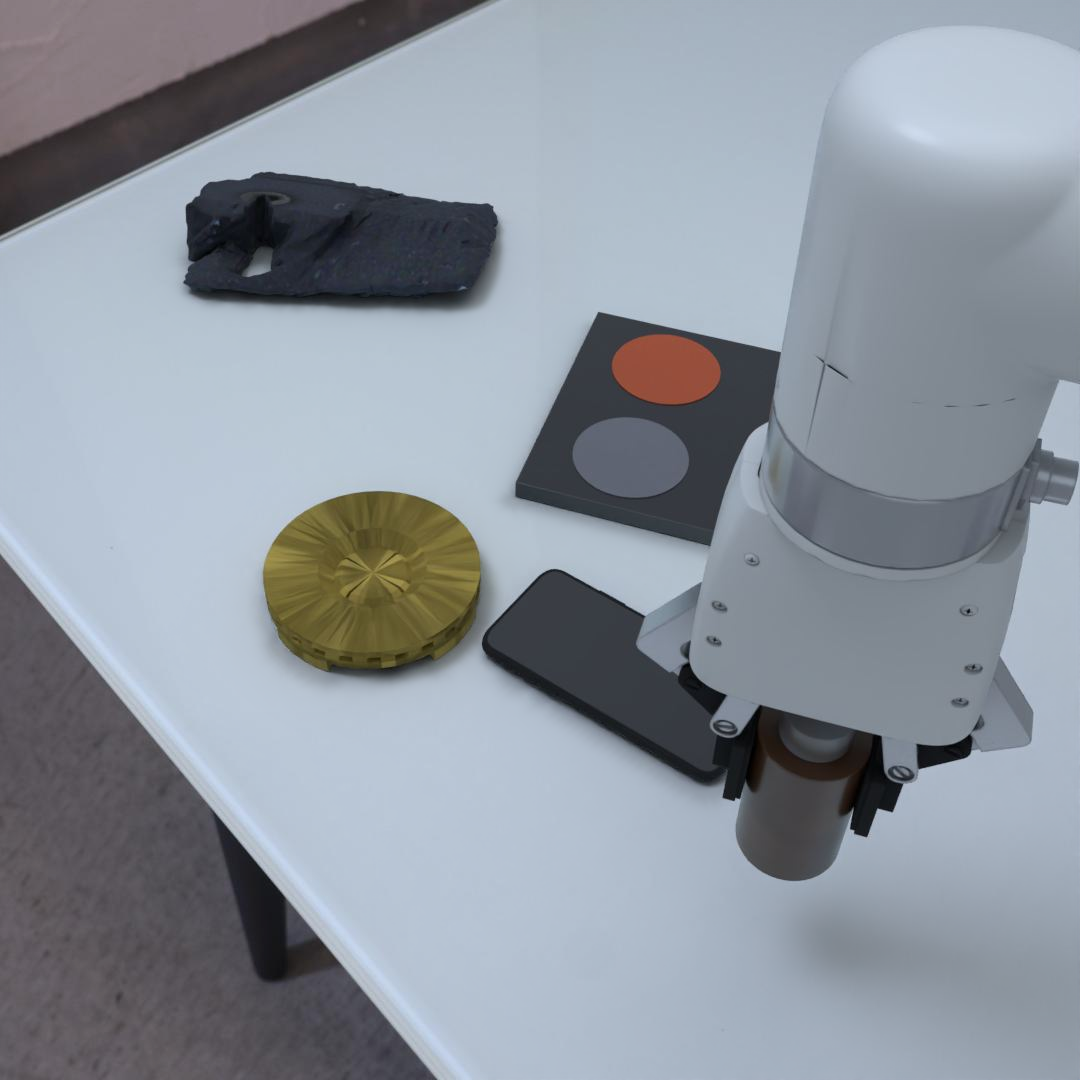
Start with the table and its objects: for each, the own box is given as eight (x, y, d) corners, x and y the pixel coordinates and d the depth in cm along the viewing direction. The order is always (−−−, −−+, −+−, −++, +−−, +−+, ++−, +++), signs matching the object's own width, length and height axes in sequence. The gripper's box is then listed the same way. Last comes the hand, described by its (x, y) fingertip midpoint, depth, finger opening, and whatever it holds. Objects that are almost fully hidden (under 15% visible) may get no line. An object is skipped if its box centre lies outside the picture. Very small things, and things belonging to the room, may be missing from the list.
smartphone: (714, 784, 65) (472, 641, 71) (711, 794, 66) (472, 652, 71) (782, 688, 70) (550, 560, 75) (779, 698, 70) (549, 571, 76)
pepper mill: (847, 805, 56) (888, 678, 50) (830, 894, 54) (872, 772, 47) (746, 778, 57) (774, 650, 51) (725, 864, 54) (751, 740, 48)
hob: (942, 402, 87) (947, 387, 86) (909, 595, 75) (915, 580, 74) (597, 325, 92) (598, 310, 91) (514, 496, 80) (515, 481, 79)
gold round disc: (493, 665, 71) (493, 640, 69) (269, 688, 70) (264, 663, 68) (467, 508, 79) (467, 482, 78) (266, 526, 78) (261, 500, 76)
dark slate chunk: (472, 332, 91) (472, 275, 87) (166, 296, 93) (153, 238, 89) (508, 210, 101) (509, 155, 98) (232, 180, 103) (223, 124, 99)
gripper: (1183, 437, 40) (1021, 768, 54) (650, 330, 44) (622, 666, 57) (1186, 615, 35) (1007, 931, 49) (586, 479, 39) (572, 809, 52)
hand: (800, 785), depth 53 cm, fingers closed on pepper mill, 4 cm apart
